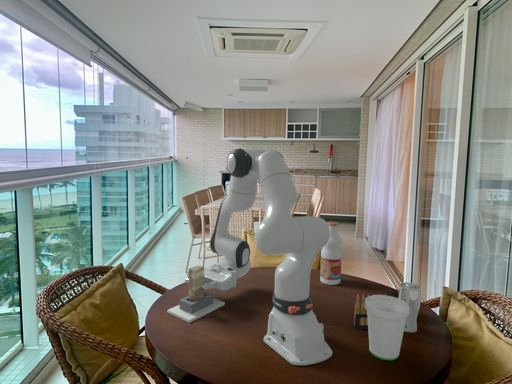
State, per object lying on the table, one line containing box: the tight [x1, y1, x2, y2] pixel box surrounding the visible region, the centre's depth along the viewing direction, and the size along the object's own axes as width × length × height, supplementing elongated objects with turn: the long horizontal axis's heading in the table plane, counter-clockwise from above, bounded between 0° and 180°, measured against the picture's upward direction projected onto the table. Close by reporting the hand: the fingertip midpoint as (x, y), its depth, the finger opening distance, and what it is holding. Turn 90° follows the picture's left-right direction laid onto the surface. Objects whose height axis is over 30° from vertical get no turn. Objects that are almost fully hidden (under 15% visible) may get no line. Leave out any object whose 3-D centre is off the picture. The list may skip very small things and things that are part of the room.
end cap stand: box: [166, 291, 226, 324], centre depth 127 cm, size 12×18×4 cm, turn 143°
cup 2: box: [365, 294, 410, 361], centre depth 100 cm, size 12×12×15 cm
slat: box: [188, 265, 205, 302], centre depth 126 cm, size 3×5×15 cm, turn 142°
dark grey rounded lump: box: [384, 288, 399, 298], centre depth 125 cm, size 8×7×8 cm
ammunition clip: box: [352, 293, 375, 330], centre depth 114 cm, size 11×2×12 cm, turn 87°
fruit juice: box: [319, 221, 343, 286], centre depth 155 cm, size 9×9×28 cm
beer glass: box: [398, 281, 422, 334], centre depth 114 cm, size 7×7×15 cm
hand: (194, 284), depth 125 cm, fingers open, 8 cm apart
